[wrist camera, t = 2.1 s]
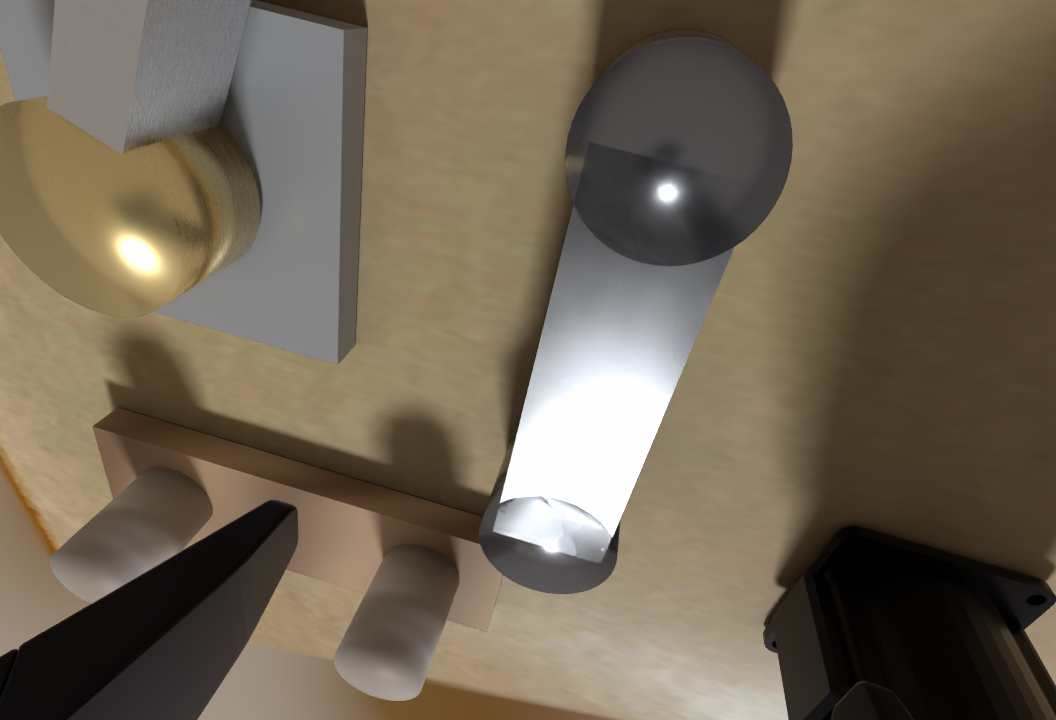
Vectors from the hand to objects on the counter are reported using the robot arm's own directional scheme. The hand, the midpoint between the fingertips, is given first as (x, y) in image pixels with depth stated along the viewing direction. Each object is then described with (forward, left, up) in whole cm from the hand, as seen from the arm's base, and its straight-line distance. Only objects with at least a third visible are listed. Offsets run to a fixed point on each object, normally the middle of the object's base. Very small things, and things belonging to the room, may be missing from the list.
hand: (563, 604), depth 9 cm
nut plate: (+12, -2, -9) cm, 15 cm away
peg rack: (+9, +11, -9) cm, 17 cm away
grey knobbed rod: (0, 0, -9) cm, 9 cm away
